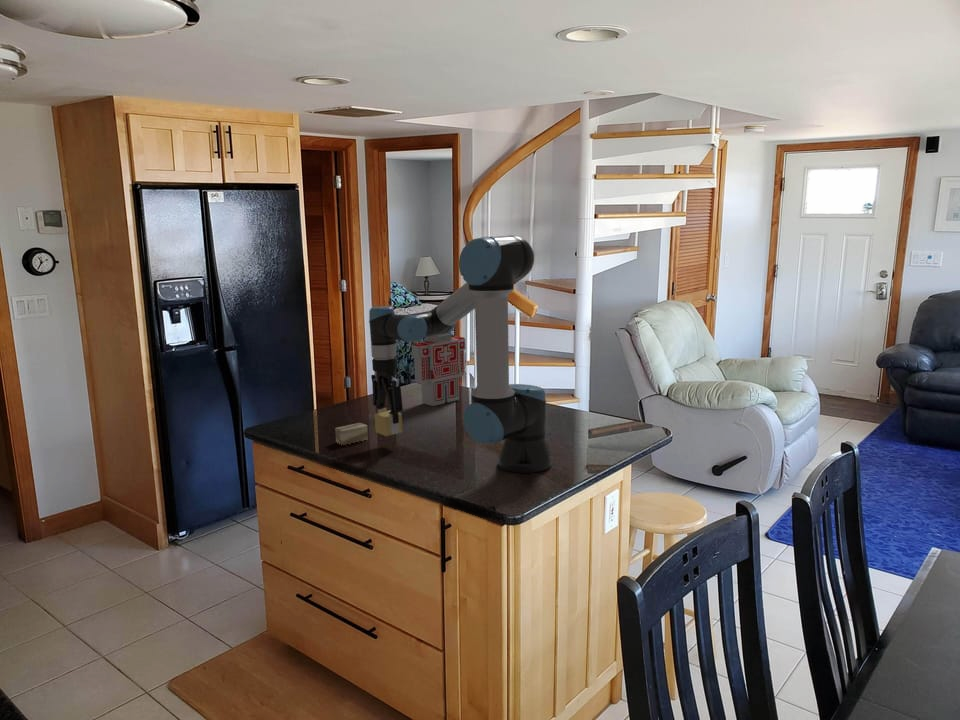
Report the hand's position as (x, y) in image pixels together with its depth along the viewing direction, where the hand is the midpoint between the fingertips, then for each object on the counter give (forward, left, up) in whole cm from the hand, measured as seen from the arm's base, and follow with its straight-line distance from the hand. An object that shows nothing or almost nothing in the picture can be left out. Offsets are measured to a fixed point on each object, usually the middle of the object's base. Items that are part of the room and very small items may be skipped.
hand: (389, 430), depth 223 cm
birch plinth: (+13, +6, -5) cm, 15 cm away
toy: (+33, -43, -5) cm, 54 cm away
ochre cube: (0, 0, 0) cm, 0 cm away
